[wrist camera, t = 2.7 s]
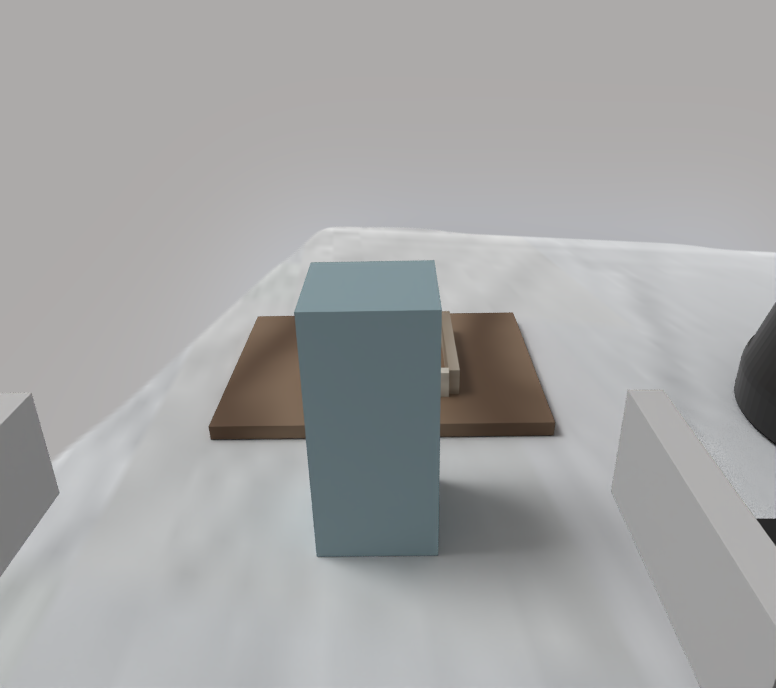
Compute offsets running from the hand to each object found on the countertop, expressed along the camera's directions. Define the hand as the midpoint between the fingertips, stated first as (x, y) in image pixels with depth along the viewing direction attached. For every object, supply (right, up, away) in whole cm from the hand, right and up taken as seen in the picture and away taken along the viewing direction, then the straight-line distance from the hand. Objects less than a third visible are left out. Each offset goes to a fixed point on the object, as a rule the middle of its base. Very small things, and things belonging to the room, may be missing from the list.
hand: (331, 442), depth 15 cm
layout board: (+1, 0, +26) cm, 26 cm away
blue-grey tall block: (+1, -5, +15) cm, 16 cm away
